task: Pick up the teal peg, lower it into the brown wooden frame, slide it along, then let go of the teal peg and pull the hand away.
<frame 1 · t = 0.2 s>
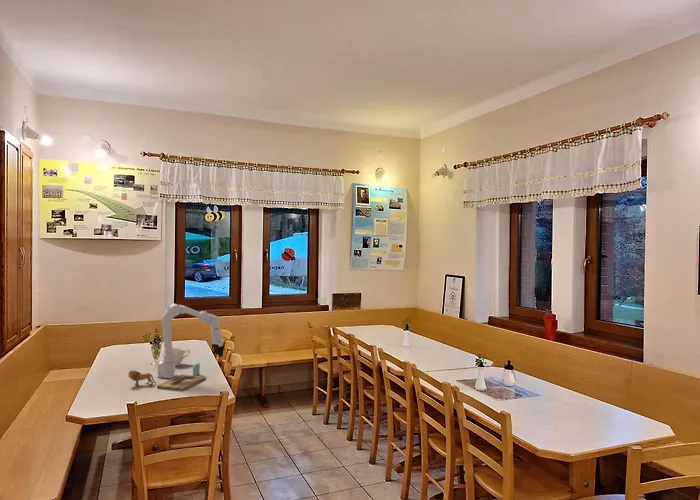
hand: (219, 355, 311), 10 cm above the table, tool pointing down, fingers open, 7 cm apart
teacup: (177, 364, 326), on the table
brown wooden frame: (182, 383, 285), on the table
teal peg: (196, 375, 302), on the table
lion figurine: (141, 385, 280), on the table
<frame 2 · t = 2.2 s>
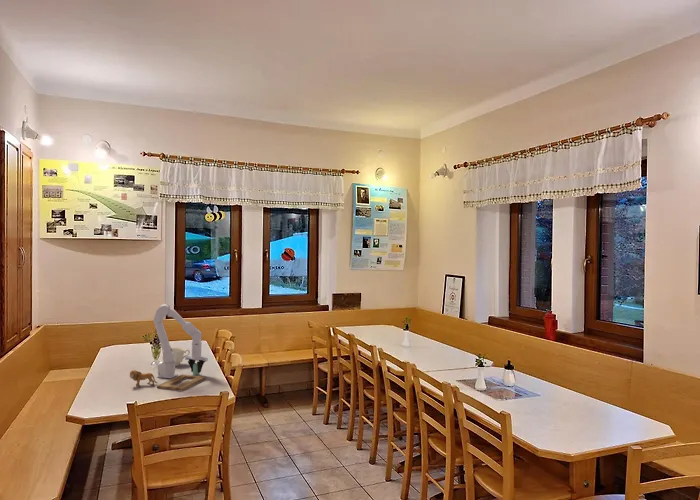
hand: (196, 372, 302), 2 cm above the table, tool pointing down, fingers closed on teal peg, 4 cm apart
teal peg: (196, 375, 302), on the table, touching gripper
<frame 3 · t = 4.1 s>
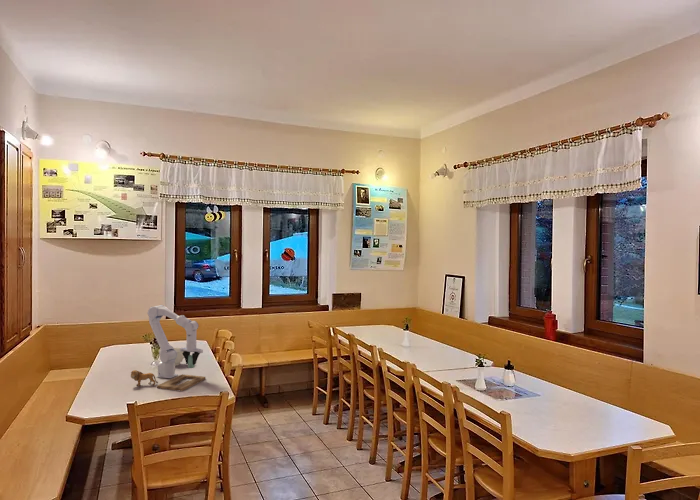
hand: (191, 364, 294), 9 cm above the table, tool pointing down, fingers closed on teal peg, 4 cm apart
teal peg: (191, 367, 294), point 7 cm above the table, touching gripper
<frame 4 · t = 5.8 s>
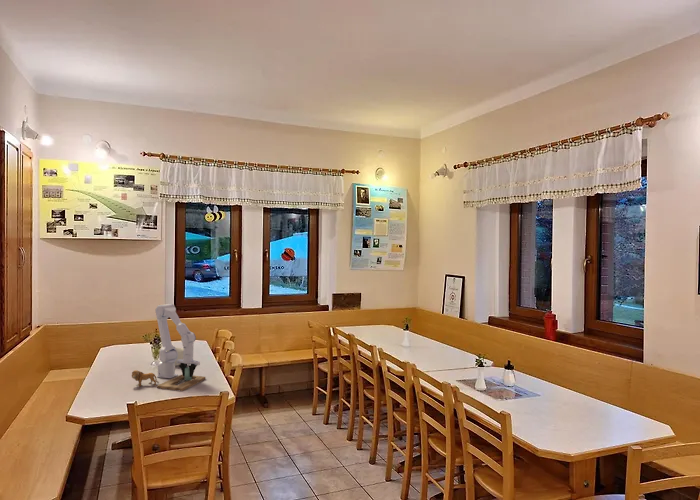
hand: (187, 376, 290), 3 cm above the table, tool pointing down, fingers closed on teal peg, 4 cm apart
teal peg: (187, 379, 290), point 1 cm above the table, touching gripper
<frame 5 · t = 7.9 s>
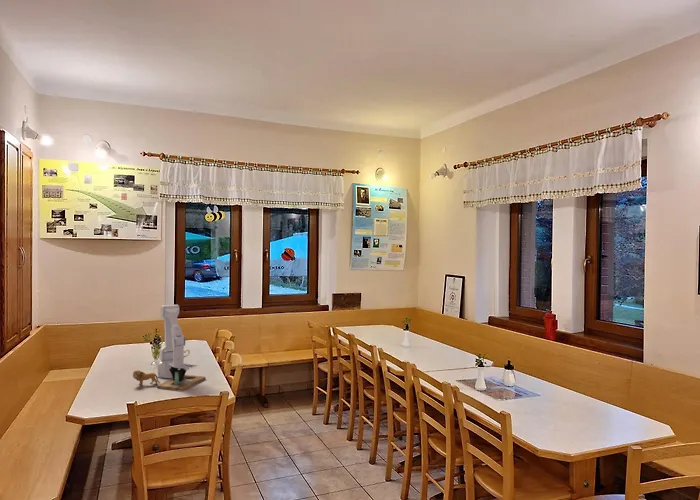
hand: (178, 380, 281), 3 cm above the table, tool pointing down, fingers closed on teal peg, 4 cm apart
teal peg: (178, 384, 281), point 1 cm above the table, touching gripper
when the fingers open (3 cm above the table, at t = 9.6 s): teal peg stays where it is, resting in brown wooden frame.
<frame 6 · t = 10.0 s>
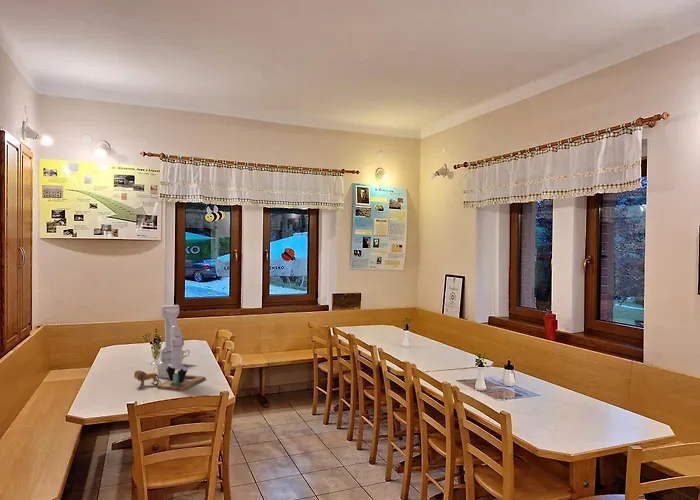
hand: (176, 381, 279), 3 cm above the table, tool pointing down, fingers open, 7 cm apart
teal peg: (176, 386, 279), resting in brown wooden frame
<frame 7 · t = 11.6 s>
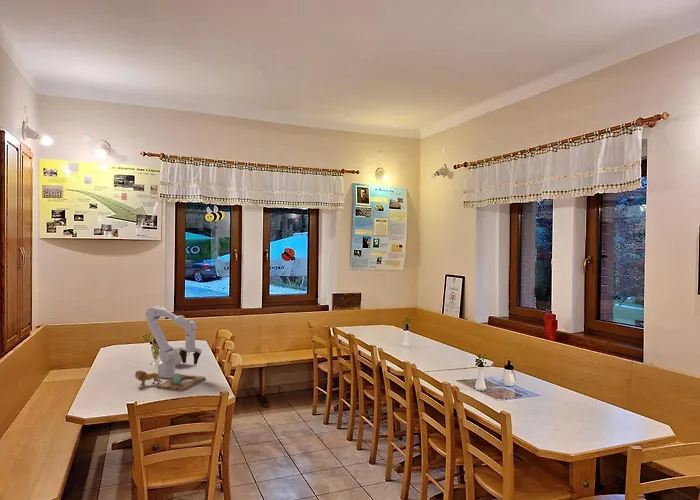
hand: (189, 363, 295), 9 cm above the table, tool pointing down, fingers open, 7 cm apart
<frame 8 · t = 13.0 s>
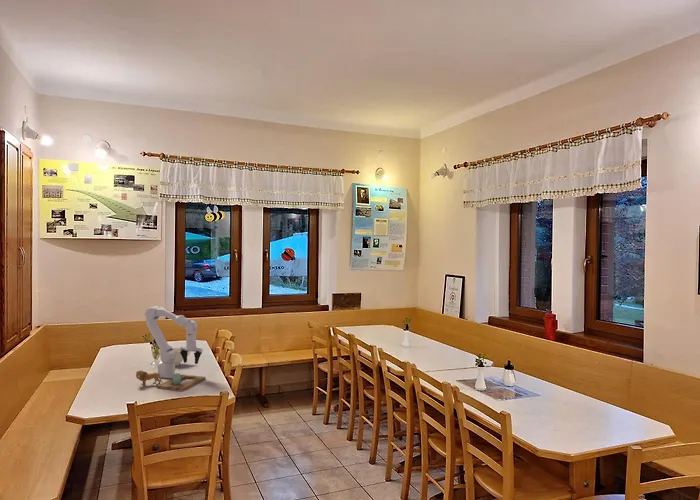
hand: (190, 363, 296), 9 cm above the table, tool pointing down, fingers open, 7 cm apart
at the end: teal peg 0.2 cm from the target spot, resting in brown wooden frame; teal peg tilted 0°; the gripper is holding nothing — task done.
